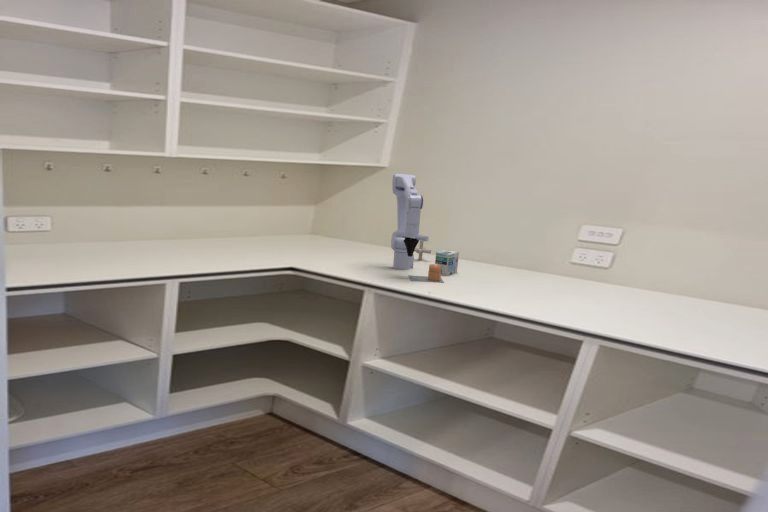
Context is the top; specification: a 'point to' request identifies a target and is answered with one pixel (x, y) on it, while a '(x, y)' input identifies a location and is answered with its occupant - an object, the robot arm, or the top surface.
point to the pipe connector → (421, 250)
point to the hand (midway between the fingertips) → (410, 256)
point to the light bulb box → (447, 261)
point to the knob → (434, 272)
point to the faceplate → (423, 279)
